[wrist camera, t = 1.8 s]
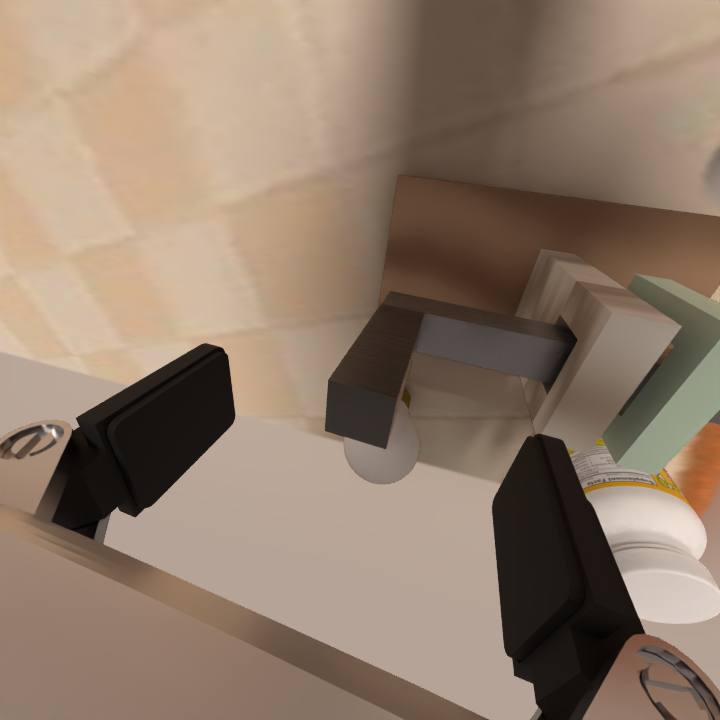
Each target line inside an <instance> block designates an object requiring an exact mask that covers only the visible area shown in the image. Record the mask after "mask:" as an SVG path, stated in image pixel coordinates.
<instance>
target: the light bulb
mask: <svg viewBox="0 0 720 720" xmlns="http://www.w3.org/2000/svg"><path fill="white" fill-rule="evenodd" d="M409 405H410V394H409V392H408V391H407V390H406V389H405V388H404V391H403V395H402V398H401V401H400V405H399V408H398V411H397V415H396V418H395V421H394V425H393V428H392V431H391V435H390V438H389V441H388V445H387V448H386V449H382V448H379V447H376V446H373V445H369V444H366V443H363V442H360V441H356V440H353V439H350V438H347V437H344V451H345V455H346V458H347V461H348V463H349V465H350V466H351V468H352V469H353V470H354V472H355V473H356V474H357V475H359V476H360V477H361V478H363V479H364V480H367V481H369V482H372V483H376V484H390V483H394V482H396V481H399V480H401V479H402V478H404V477H405V476H406V475H407V474H408V473H409V472H410V471H411V470H412V469H413V467H414V466H415V464H416V462H417V460H418V457H419V453H420V438H419V434H418V431H417V428H416V426H415V424H414V423H413V421H412V420H411V419H410V413H409Z"/></svg>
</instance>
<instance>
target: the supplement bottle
mask: <svg viewBox="0 0 720 720" xmlns="http://www.w3.org/2000/svg"><path fill="white" fill-rule="evenodd" d="M567 450H568V453H569V455H570V458H571V460H572V463H573V465H574V468H575V470H576V473H577V475H578V478H579V481H580V483H581V486H582V488H583V491H584V493H585V496H586V498H587V500H588V501H589V502H590V503H591V504H592V506H593V507H594V509H595V511H596V514H597V516H598V519H599V521H600V524H601V526H602V529H603V531H604V533H605V536H606V538H607V541H608V543H609V546H610V548H611V551H612V553H613V555H614V558H615V560H616V563H617V565H618V568H619V570H620V573H621V575H622V578H623V580H624V582H625V585H626V587H627V590H628V592H629V595H630V597H631V600H632V602H633V604H634V607H635V609H636V612H637V614H638V617H639V618H641V619H644V620H648V621H653V622H658V623H671V624H672V623H673V624H674V623H675V624H684V623H695V622H701V621H705V620H707V619H710V618H712V617H714V616H716V615H718V614H719V613H720V589H719V588H718V586H717V584H716V583H715V581H714V579H713V578H712V576H711V574H710V572H709V571H708V569H707V568H706V567H705V566H703V565H702V564H701V563H700V562H699V561H698V559H699V558H700V557H701V556H702V554H703V553H704V550H705V548H706V542H707V537H706V532H705V528H704V526H703V524H702V522H701V520H700V519H699V517H698V516H697V514H696V513H695V511H694V510H693V508H692V507H691V506H690V504H689V503H688V501H687V500H686V499H685V497H684V496H683V494H682V493H681V491H680V490H679V489H678V487H677V486H676V484H675V483H674V481H673V480H672V479H671V477H670V476H669V474H668V473H667V471H666V470H665V468H663V469H662V470H661V471H660V472H659V473H658V474H657V475H656V476H655V475H651V474H648V473H644V472H641V471H637V470H633V469H630V468H626V467H622V466H619V465H616V464H615V462H614V460H613V458H612V456H611V455H610V453H609V451H608V449H607V447H606V445H605V443H604V441H603V439H602V437H600V438H599V440H598V441H597V442H596V444H595V445H594V446H593V448H592V449H591V450H590V452H589V453H588V454H584V453H581V452H577V451H573V450H570V449H567Z"/></svg>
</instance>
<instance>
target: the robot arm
mask: <svg viewBox="0 0 720 720" xmlns="http://www.w3.org/2000/svg"><path fill="white" fill-rule="evenodd" d="M76 420H77V422H78V424H79V426H80V427H79V428H77V429H76V430H74V431H73V429H72V427H71V426H70V424H69V423H67V422H65V421H59V420H47V421H40V422H36V423H31V424H29V425H26V426H23V427H20V428H18V429H16V430H14V431H11V432H9V433H7V434H6V435H4V436H3V437H1V438H0V720H488V719H486V718H484V717H482V716H480V715H478V714H476V713H474V712H472V711H469V710H467V709H465V708H463V707H461V706H459V705H457V704H455V703H453V702H451V701H449V700H447V699H444V698H442V697H440V696H438V695H436V694H434V693H432V692H430V691H428V690H425V689H424V688H421V687H419V686H417V685H415V684H413V683H411V682H408V681H406V680H404V679H402V678H399V677H397V676H395V675H393V674H391V673H389V672H386V671H384V670H382V669H380V668H378V667H375V666H373V665H371V664H369V663H367V662H364V661H362V660H360V659H358V658H355V657H353V656H351V655H349V654H347V653H344V652H342V651H340V650H338V649H336V648H334V647H331V646H329V645H327V644H325V643H323V642H320V641H318V640H316V639H313V638H311V637H309V636H307V635H305V634H303V633H301V632H298V631H296V630H294V629H292V628H290V627H287V626H285V625H282V624H281V623H278V622H276V621H274V620H272V619H269V618H267V617H265V616H263V615H261V614H258V613H256V612H254V611H252V610H249V609H247V608H245V607H243V606H241V605H238V604H236V603H234V602H232V601H229V600H227V599H225V598H222V597H221V596H218V595H216V594H214V593H212V592H209V591H207V590H205V589H202V588H200V587H198V586H196V585H193V584H192V583H189V582H187V581H185V580H183V579H180V578H178V577H176V576H174V575H171V574H169V573H167V572H165V571H162V570H160V569H158V568H156V567H153V566H151V565H149V564H147V563H144V562H142V561H139V560H137V559H135V558H133V557H131V556H128V555H126V554H124V553H121V552H119V551H117V550H115V549H113V548H110V547H108V546H106V545H104V544H103V542H104V538H105V534H106V530H107V526H108V522H109V518H110V514H111V512H112V511H113V510H115V509H116V508H117V507H118V508H119V510H120V511H121V512H124V513H126V514H128V515H131V516H133V517H136V516H137V515H138V514H139V513H141V512H142V511H143V509H145V508H148V507H150V506H152V505H153V504H154V503H155V502H156V501H157V500H158V499H159V498H160V497H161V496H162V495H163V494H164V493H165V492H166V491H167V490H168V489H169V488H170V487H171V486H172V485H173V484H174V483H175V482H176V481H177V480H178V479H179V478H180V477H181V476H182V475H183V474H184V473H185V472H186V471H187V470H188V469H189V468H190V467H191V466H192V465H193V464H194V463H195V462H196V461H197V460H198V459H199V458H200V457H201V456H202V455H203V454H204V453H205V452H206V451H207V450H208V449H209V448H210V447H211V446H212V445H213V444H214V443H215V442H216V441H217V440H218V439H219V438H220V437H221V435H223V434H224V433H225V432H226V431H227V430H228V428H229V427H230V426H231V425H232V424H233V422H234V420H235V408H234V400H233V392H232V384H231V376H230V368H229V359H228V355H227V354H226V353H225V351H224V349H223V348H221V347H218V346H214V345H211V344H207V343H204V344H201V345H199V346H198V347H196V348H194V349H193V350H191V351H189V352H187V353H186V354H184V355H182V356H181V357H179V358H177V359H176V360H174V361H172V362H170V363H169V364H167V365H165V366H164V367H162V368H160V369H158V370H157V371H155V372H153V373H152V374H150V375H148V376H147V377H145V378H143V379H141V380H140V381H138V382H136V383H135V384H133V385H131V386H129V387H128V388H126V389H124V390H123V391H121V392H119V393H117V394H116V395H114V396H112V397H111V398H109V399H107V400H106V401H104V402H102V403H100V404H99V405H97V406H95V407H94V408H92V409H90V410H88V411H87V412H85V413H83V414H82V415H80V416H78V417H77V418H76ZM492 514H493V525H494V537H495V548H496V560H497V571H498V582H499V594H500V605H501V617H502V627H503V640H504V648H505V652H506V654H507V656H509V657H511V658H512V659H513V667H514V676H516V677H519V678H521V679H524V680H526V681H529V682H531V683H533V685H534V691H535V698H536V704H537V705H538V709H537V711H536V712H535V714H534V715H533V716H532V718H531V719H530V720H720V691H719V690H718V688H717V687H716V686H715V684H714V683H713V682H712V681H711V679H710V678H709V677H708V676H707V675H706V674H705V673H704V672H703V671H702V670H701V669H700V668H699V667H698V666H697V665H696V664H695V663H694V662H693V661H692V660H691V659H690V658H689V657H687V656H686V655H685V654H684V653H682V652H681V651H680V650H678V649H677V648H676V647H675V646H672V645H671V644H669V643H667V642H666V641H663V640H662V639H660V638H658V637H655V636H651V635H647V634H645V631H644V629H643V626H642V624H641V622H640V619H639V617H638V614H637V612H636V609H635V607H634V604H633V602H632V600H631V597H630V595H629V592H628V590H627V587H626V585H625V582H624V580H623V578H622V575H621V573H620V570H619V568H618V565H617V563H616V560H615V558H614V555H613V553H612V551H611V548H610V546H609V543H608V541H607V538H606V536H605V533H604V531H603V529H602V526H601V524H600V521H599V519H598V516H597V514H596V511H595V509H594V507H593V506H592V504H591V503H590V502H589V501H588V500H587V498H586V496H585V493H584V491H583V488H582V486H581V483H580V481H579V478H578V475H577V473H576V470H575V468H574V465H573V463H572V460H571V458H570V455H569V453H568V450H567V448H566V445H565V443H564V441H563V440H561V439H558V438H555V437H551V436H547V435H544V434H540V433H539V434H536V435H535V436H534V437H530V436H529V437H527V438H526V440H525V442H524V444H523V445H522V447H521V449H520V451H519V453H518V455H517V456H516V458H515V460H514V462H513V464H512V466H511V468H510V469H509V471H508V473H507V475H506V477H505V479H504V480H503V482H502V484H501V486H500V488H499V490H498V492H497V493H496V495H495V497H494V500H493V505H492Z"/></svg>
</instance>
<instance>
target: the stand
mask: <svg viewBox="0 0 720 720" xmlns="http://www.w3.org/2000/svg"><path fill="white" fill-rule="evenodd" d="M635 274H640V275H646V276H652V277H658V278H664V279H670V280H673V281H675V282H677V283H679V284H681V285H683V286H685V287H687V288H689V289H691V290H693V291H695V292H697V293H700V294H702V295H704V296H706V297H708V298H710V297H711V296H712V295H713V293H714V292H715V291H716V289H717V288H718V287H719V285H720V217H718V216H710V215H702V214H695V213H687V212H679V211H672V210H664V209H656V208H649V207H641V206H633V205H626V204H618V203H610V202H603V201H595V200H587V199H580V198H572V197H564V196H557V195H549V194H541V193H534V192H526V191H518V190H511V189H503V188H495V187H488V186H480V185H472V184H464V183H457V182H449V181H441V180H434V179H426V178H418V177H411V176H403V175H398V179H397V186H396V192H395V199H394V206H393V212H392V219H391V226H390V232H389V239H388V246H387V252H386V259H385V266H384V273H383V279H382V286H381V293H380V299H379V306H380V305H381V303H382V302H383V301H384V299H385V298H386V296H387V295H388V293H389V292H390V291H394V292H399V293H404V294H408V295H413V296H418V297H423V298H428V299H433V300H438V301H443V302H447V303H452V304H457V305H462V306H467V307H472V308H477V309H482V310H486V311H491V312H496V313H501V314H506V315H511V316H516V317H521V318H525V319H530V320H535V321H540V322H545V323H550V324H555V325H560V326H565V327H569V328H570V329H571V331H572V332H573V333H574V335H575V336H576V338H577V339H578V341H577V343H576V345H575V346H574V348H573V350H572V352H571V354H570V355H569V357H568V359H567V361H566V363H565V364H564V366H563V368H562V370H561V372H560V373H559V375H558V377H557V379H556V381H555V383H554V384H549V383H545V382H541V381H536V380H532V379H528V378H524V377H520V379H521V383H522V386H523V390H524V394H525V397H526V401H527V405H528V408H529V412H530V416H531V419H532V423H533V427H534V430H535V434H539V433H540V434H544V435H547V436H551V437H555V438H558V439H561V440H563V441H564V443H565V445H566V448H567V449H570V450H573V451H577V452H581V453H584V454H588V453H589V452H590V450H591V449H592V448H593V446H594V445H595V444H596V442H597V441H598V440H599V438H600V437H601V436H602V434H603V433H604V432H605V430H606V429H607V427H608V426H609V425H610V423H611V422H612V421H613V419H614V418H615V417H616V415H617V414H618V413H619V411H620V410H621V408H622V407H623V406H624V404H625V403H626V402H627V400H628V399H629V398H630V396H631V395H632V394H633V392H634V391H635V389H636V388H637V387H638V385H639V384H640V383H641V381H642V380H643V379H644V377H645V376H646V375H647V373H648V372H649V371H650V369H651V368H652V366H653V365H654V364H655V362H656V361H657V360H658V358H659V357H660V356H661V354H662V353H663V352H664V350H665V349H666V347H667V348H673V347H674V345H673V344H671V343H670V342H671V341H672V339H673V338H674V337H675V335H676V334H677V333H678V331H679V330H680V328H681V327H682V326H681V325H679V324H678V323H676V322H675V321H673V320H672V319H670V318H669V317H667V316H666V315H664V314H663V313H661V312H660V311H659V310H657V309H656V308H654V307H653V306H651V305H650V304H648V303H647V302H645V301H644V300H642V299H641V298H639V297H638V296H636V295H635V294H633V293H632V292H630V291H629V290H627V287H628V286H629V284H630V282H631V281H632V279H633V277H634V275H635ZM379 306H378V308H379Z"/></svg>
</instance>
